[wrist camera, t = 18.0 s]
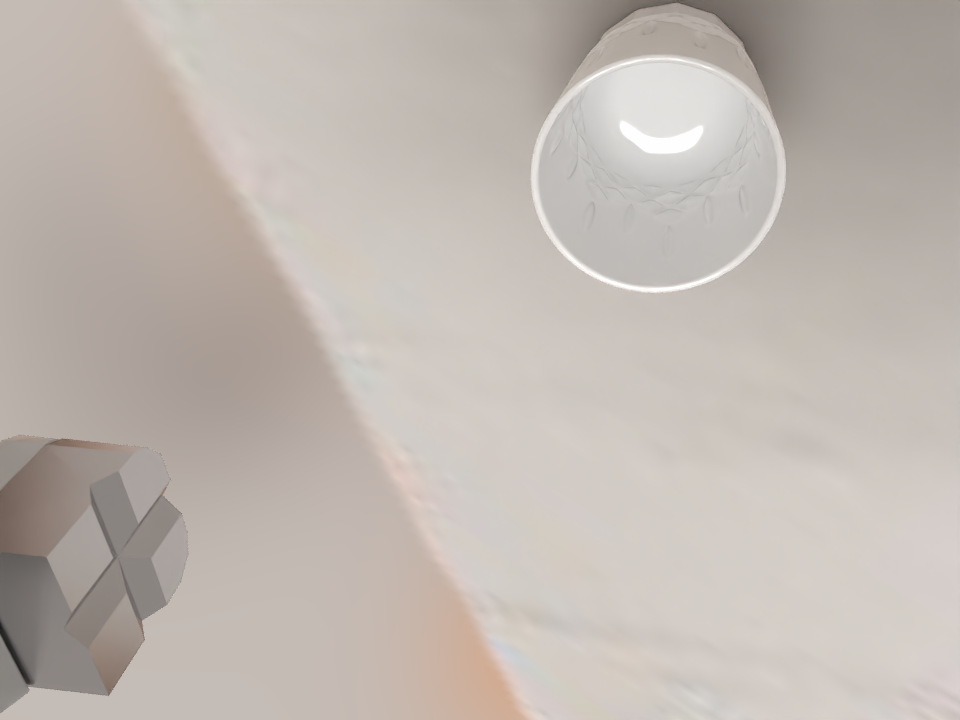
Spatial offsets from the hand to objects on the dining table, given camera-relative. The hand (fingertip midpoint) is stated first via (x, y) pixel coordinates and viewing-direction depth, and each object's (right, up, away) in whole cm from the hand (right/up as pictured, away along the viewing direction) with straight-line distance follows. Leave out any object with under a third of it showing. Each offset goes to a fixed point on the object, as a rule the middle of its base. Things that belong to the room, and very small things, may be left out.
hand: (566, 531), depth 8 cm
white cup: (+7, +13, +28) cm, 32 cm away
